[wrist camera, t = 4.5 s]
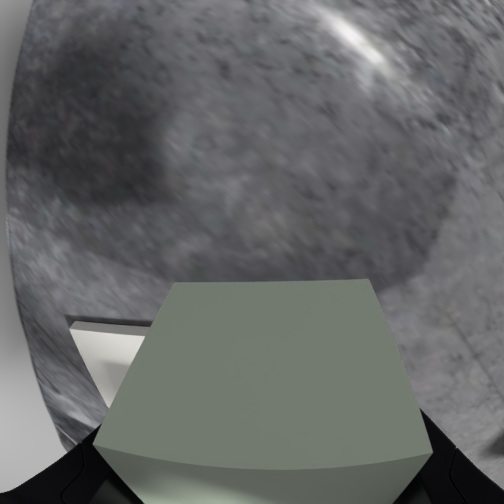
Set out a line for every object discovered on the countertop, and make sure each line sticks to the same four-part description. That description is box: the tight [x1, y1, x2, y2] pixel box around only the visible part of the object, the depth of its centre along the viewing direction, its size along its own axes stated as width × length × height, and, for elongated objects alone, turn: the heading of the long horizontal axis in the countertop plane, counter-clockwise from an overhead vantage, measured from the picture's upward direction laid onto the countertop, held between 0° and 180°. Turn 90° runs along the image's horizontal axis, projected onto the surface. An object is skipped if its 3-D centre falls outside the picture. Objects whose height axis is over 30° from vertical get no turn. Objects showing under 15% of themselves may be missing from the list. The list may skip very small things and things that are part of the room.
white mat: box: [69, 321, 150, 408], centre depth 23 cm, size 18×16×1 cm
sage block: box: [93, 279, 433, 504], centre depth 7 cm, size 5×5×5 cm
